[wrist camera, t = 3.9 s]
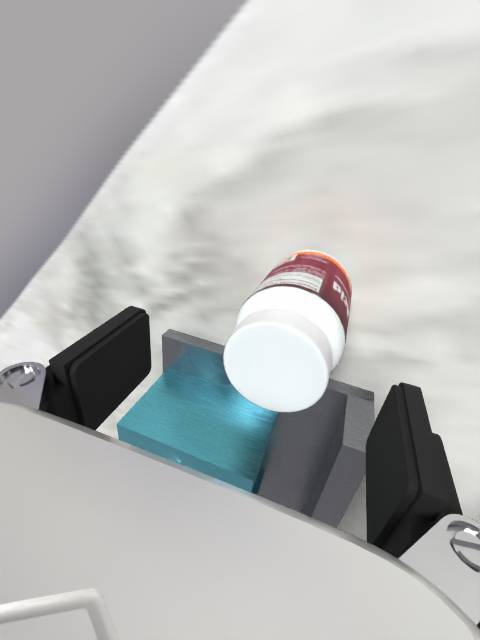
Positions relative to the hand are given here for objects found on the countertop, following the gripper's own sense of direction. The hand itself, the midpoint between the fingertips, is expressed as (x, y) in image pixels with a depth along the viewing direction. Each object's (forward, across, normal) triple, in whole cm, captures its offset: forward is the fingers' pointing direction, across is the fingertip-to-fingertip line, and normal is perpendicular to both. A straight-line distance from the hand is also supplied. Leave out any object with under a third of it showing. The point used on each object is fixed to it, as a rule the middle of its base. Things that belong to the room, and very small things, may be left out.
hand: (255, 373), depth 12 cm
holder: (+9, +1, +14) cm, 16 cm away
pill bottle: (+9, -1, 0) cm, 9 cm away
